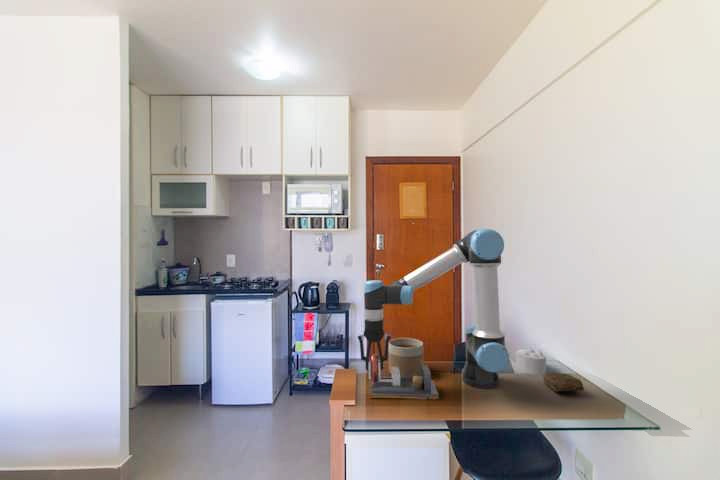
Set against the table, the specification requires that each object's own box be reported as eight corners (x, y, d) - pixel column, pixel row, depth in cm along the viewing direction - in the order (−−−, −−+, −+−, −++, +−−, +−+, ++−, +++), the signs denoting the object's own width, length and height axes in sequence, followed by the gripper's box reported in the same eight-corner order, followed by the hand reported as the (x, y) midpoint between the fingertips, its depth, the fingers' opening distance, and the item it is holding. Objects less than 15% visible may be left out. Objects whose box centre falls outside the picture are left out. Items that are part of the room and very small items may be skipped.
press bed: (432, 385, 138) (432, 363, 139) (438, 399, 125) (438, 375, 126) (370, 384, 140) (370, 362, 140) (370, 398, 127) (369, 374, 127)
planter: (384, 376, 148) (383, 345, 148) (394, 364, 163) (394, 336, 163) (419, 381, 142) (418, 349, 142) (426, 368, 157) (426, 339, 157)
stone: (566, 383, 140) (565, 369, 140) (586, 395, 126) (584, 379, 126) (541, 384, 140) (540, 370, 141) (558, 396, 127) (556, 381, 127)
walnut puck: (422, 384, 134) (422, 375, 134) (423, 388, 130) (423, 379, 130) (412, 384, 134) (412, 375, 135) (413, 388, 130) (413, 379, 131)
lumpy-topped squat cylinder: (531, 363, 162) (531, 345, 162) (552, 373, 150) (552, 354, 150) (513, 365, 160) (513, 347, 160) (533, 375, 147) (532, 356, 148)
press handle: (398, 381, 137) (398, 352, 137) (400, 390, 129) (400, 359, 129) (370, 381, 138) (370, 352, 138) (370, 389, 129) (370, 359, 129)
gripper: (393, 316, 137) (394, 373, 137) (354, 316, 138) (355, 373, 137) (394, 321, 130) (395, 381, 129) (353, 321, 130) (353, 381, 130)
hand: (374, 377), depth 133 cm, fingers closed on press handle, 3 cm apart
